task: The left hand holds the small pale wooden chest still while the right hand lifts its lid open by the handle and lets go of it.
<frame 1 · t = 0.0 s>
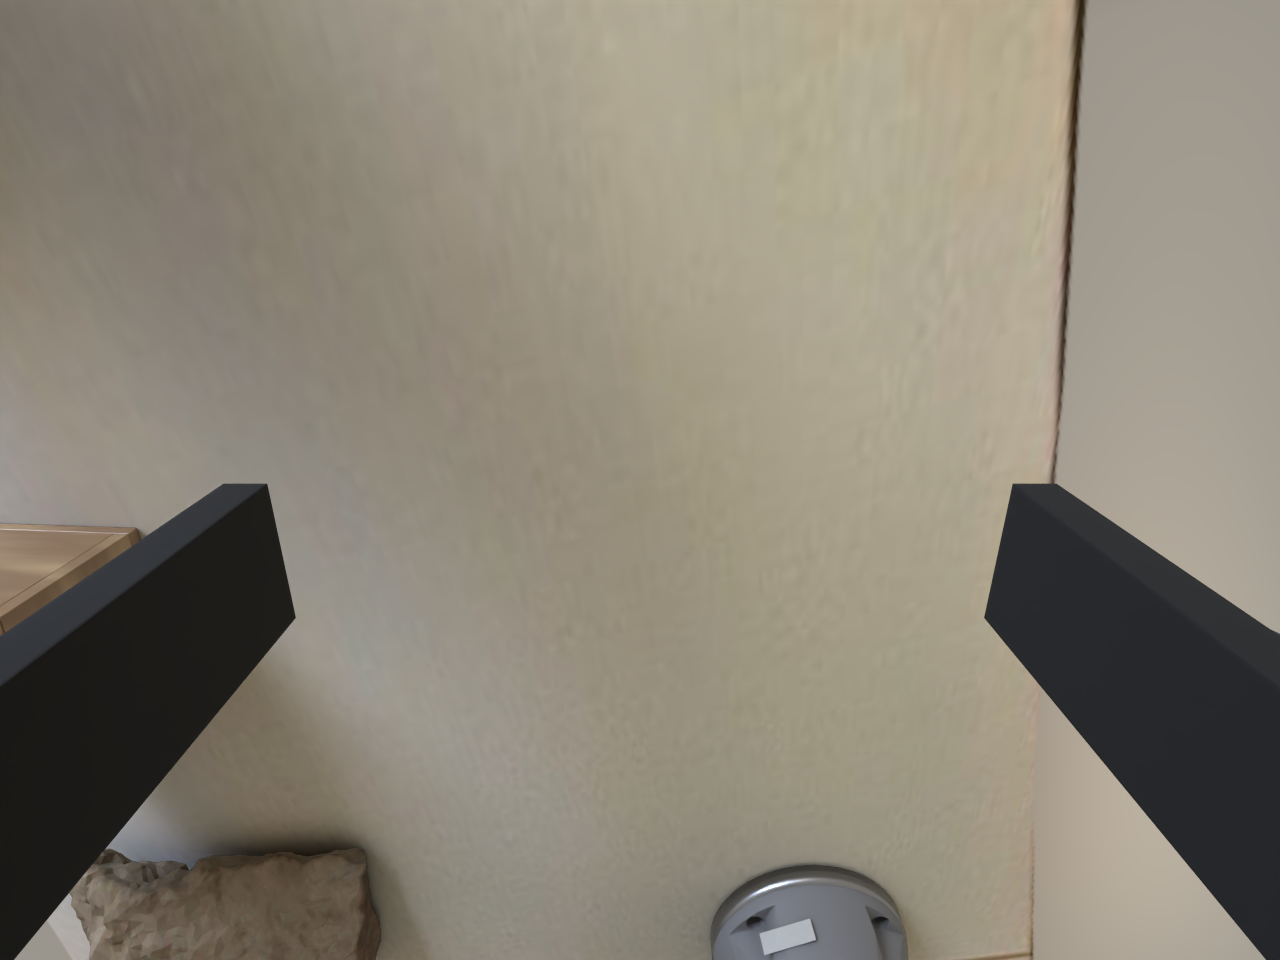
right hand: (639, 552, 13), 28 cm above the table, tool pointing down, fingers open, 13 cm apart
stone: (252, 895, 55), on the table
chest: (83, 613, 46), on the table
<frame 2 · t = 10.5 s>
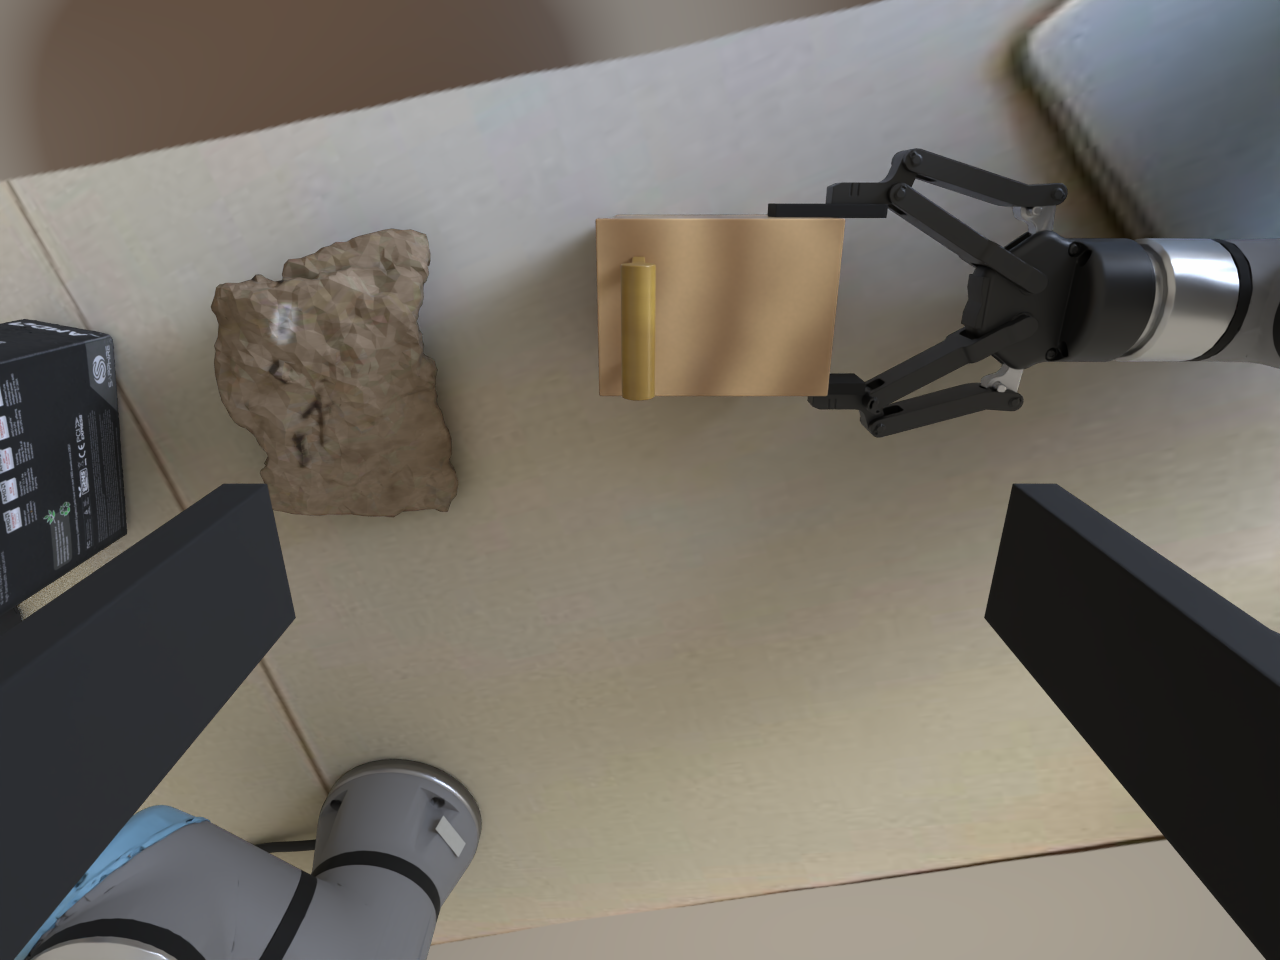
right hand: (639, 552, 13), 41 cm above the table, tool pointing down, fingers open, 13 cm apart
left hand: (765, 301, 44), fingers closed on chest, 10 cm apart
lid: (722, 320, 37), point 14 cm above the table, hinge at 0.0°
stone: (362, 379, 53), on the table
graphics card box: (87, 428, 54), on the table
chest: (706, 288, 50), on the table, touching left hand
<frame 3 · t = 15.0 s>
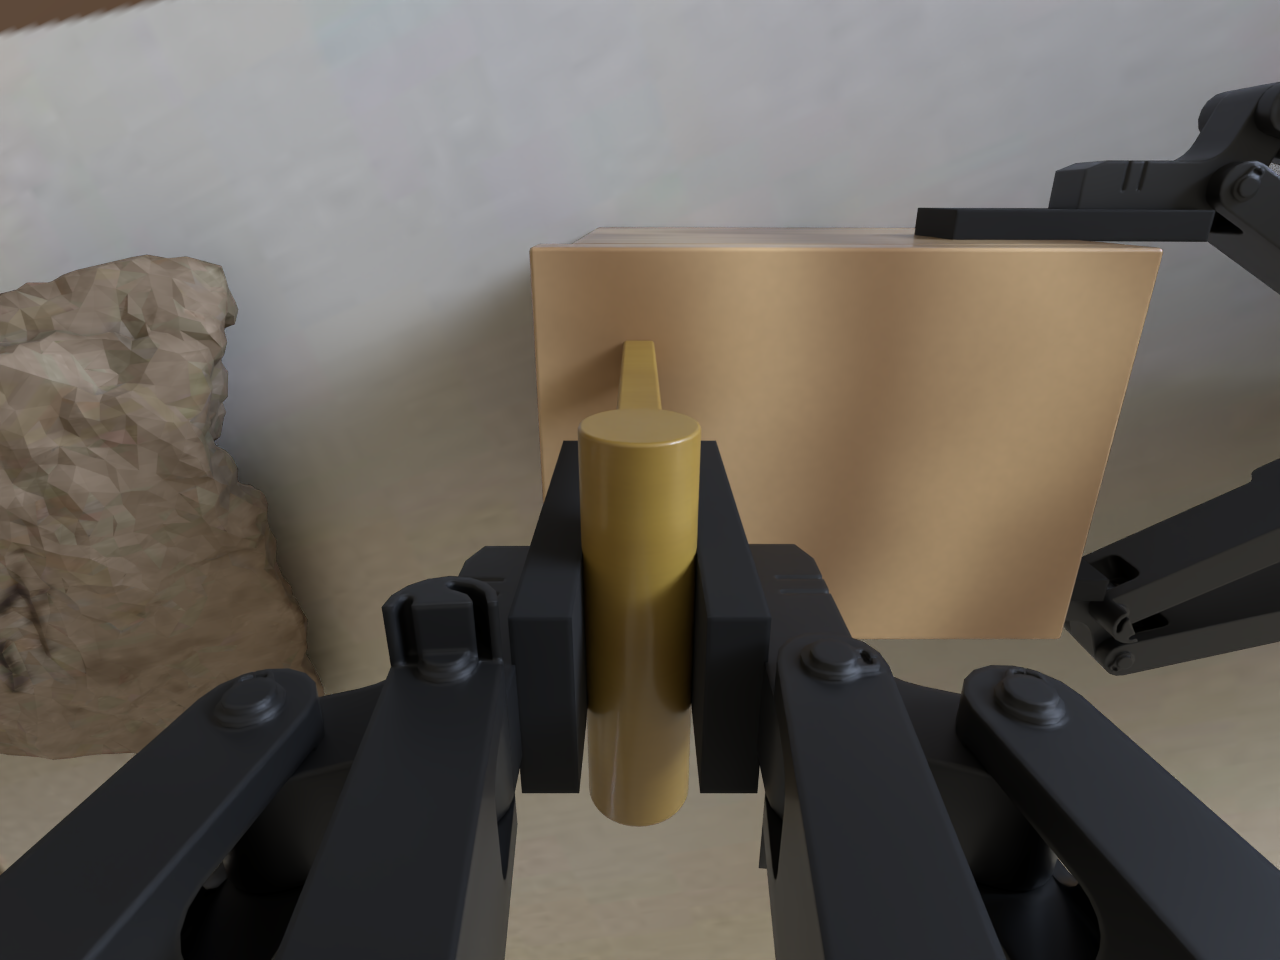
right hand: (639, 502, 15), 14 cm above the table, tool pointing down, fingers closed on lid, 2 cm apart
lid: (864, 522, 14), point 15 cm above the table, hinge at 0.5°, touching right hand
stone: (150, 515, 30), on the table
chest: (764, 362, 27), on the table, touching left hand
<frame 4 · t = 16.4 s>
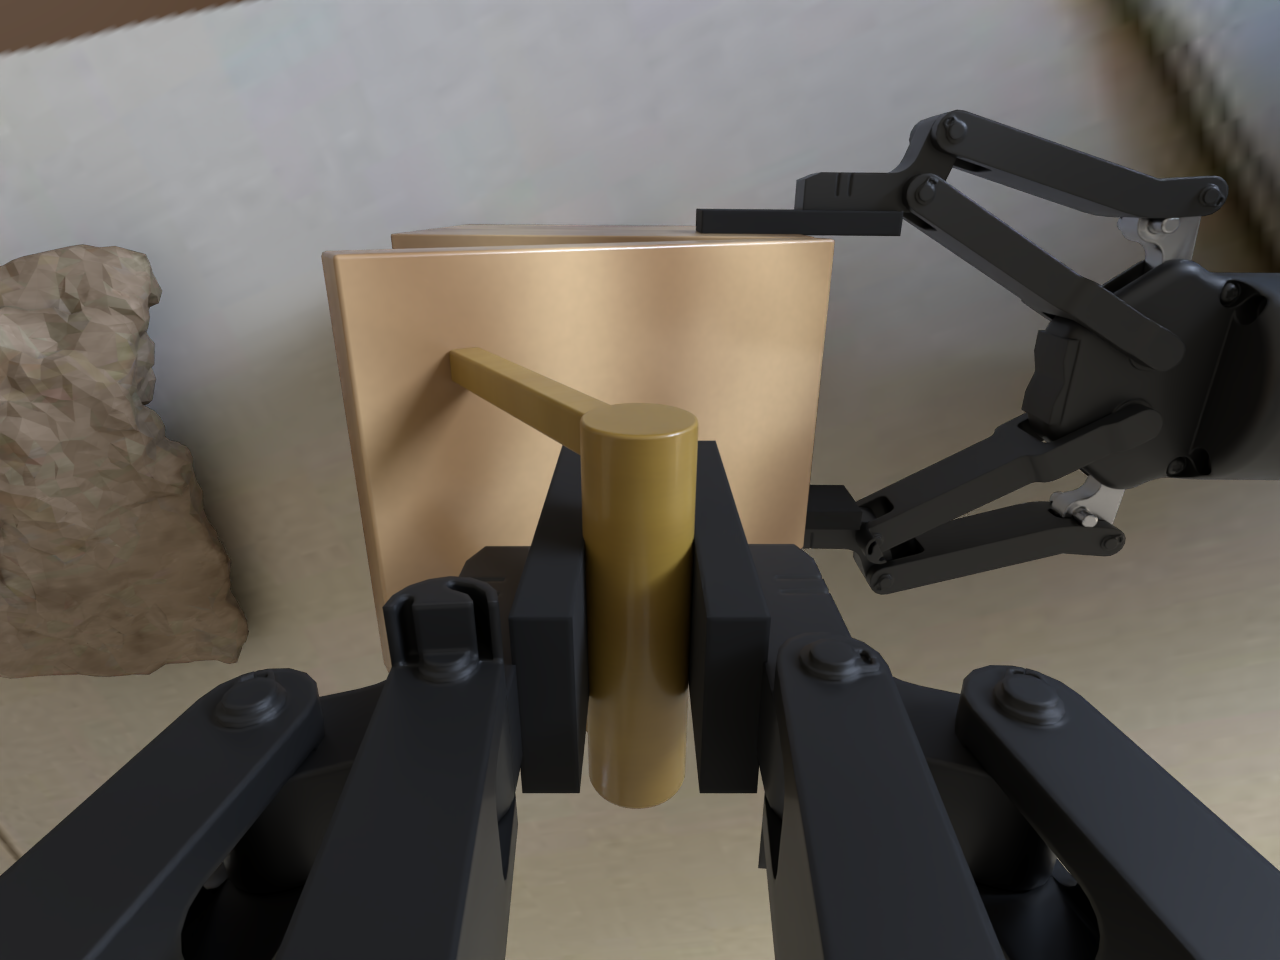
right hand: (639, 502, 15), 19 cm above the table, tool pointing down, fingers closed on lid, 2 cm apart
left hand: (693, 374, 26), fingers closed on chest, 10 cm apart
lid: (714, 482, 16), point 18 cm above the table, hinge at 33.8°, touching right hand
stone: (96, 470, 35), on the table
chest: (615, 339, 32), on the table, touching left hand
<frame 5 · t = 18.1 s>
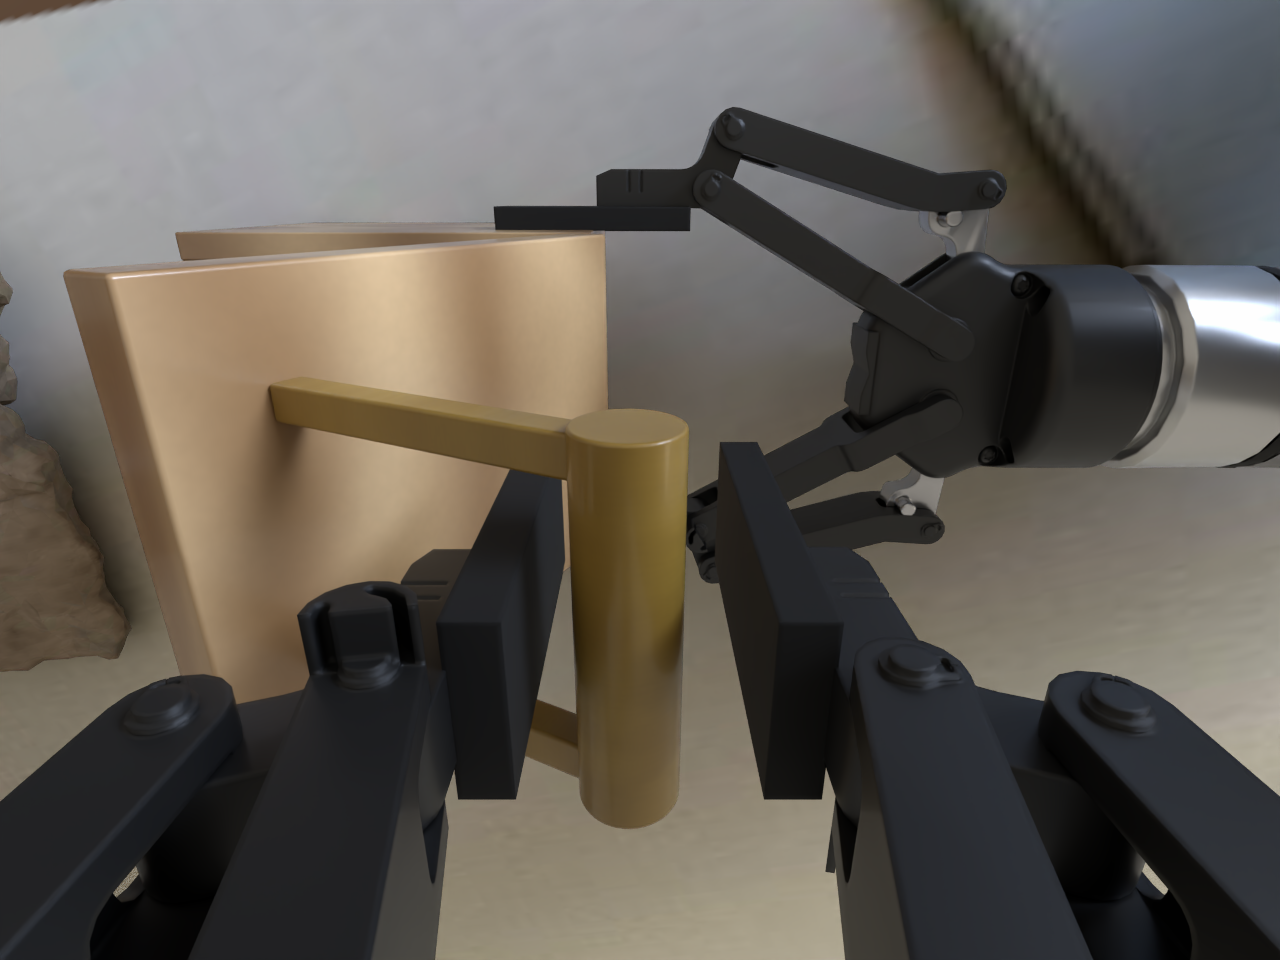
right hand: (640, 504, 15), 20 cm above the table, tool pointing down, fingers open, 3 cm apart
left hand: (512, 368, 26), fingers closed on chest, 10 cm apart
lid: (581, 484, 16), point 18 cm above the table, hinge at 62.4°
chest: (469, 335, 33), on the table, touching left hand
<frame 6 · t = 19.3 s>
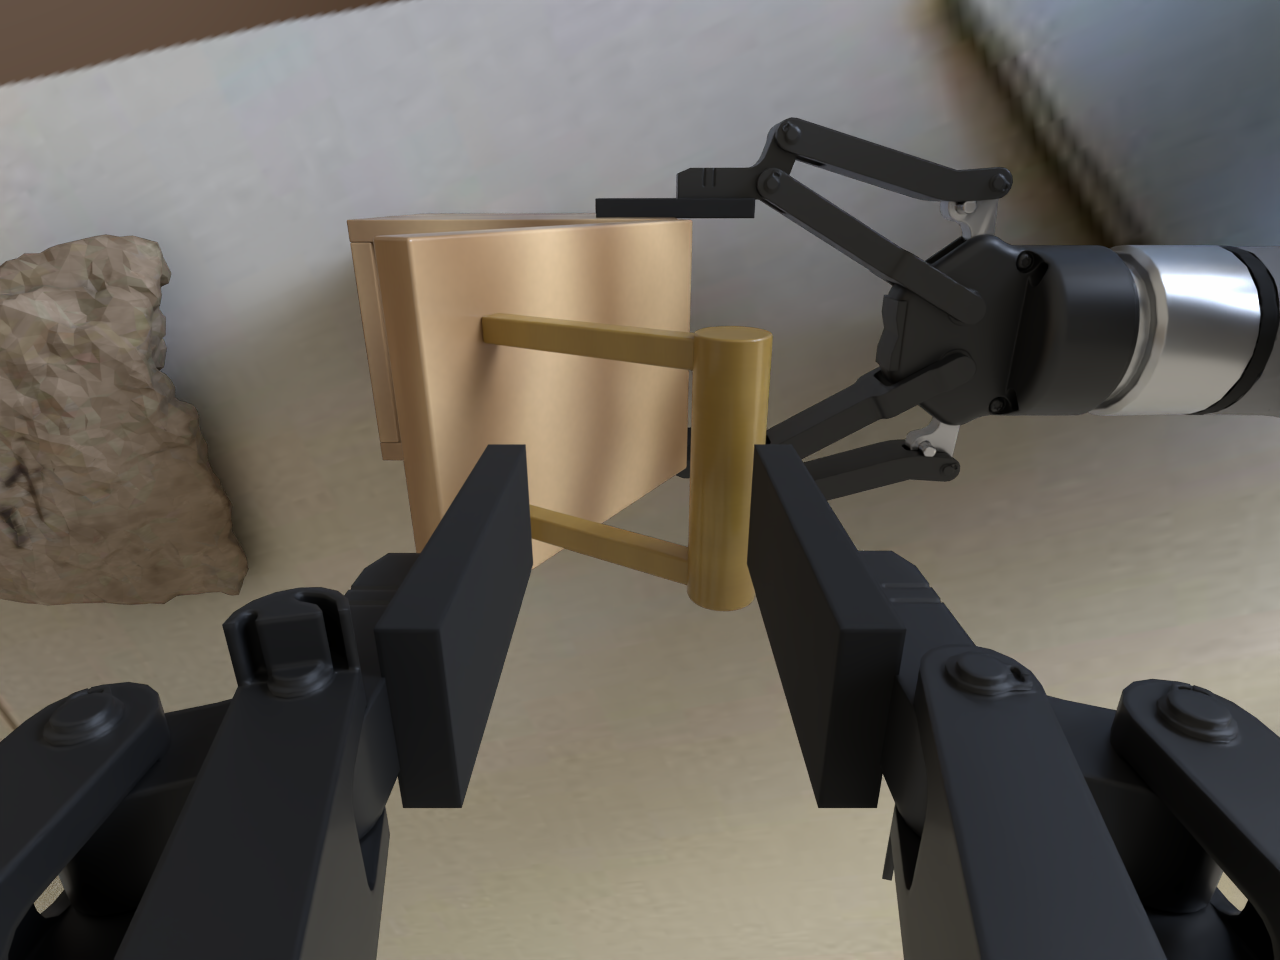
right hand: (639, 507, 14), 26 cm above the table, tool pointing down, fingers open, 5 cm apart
left hand: (600, 333, 32), fingers closed on chest, 10 cm apart
lid: (679, 403, 21), point 18 cm above the table, hinge at 58.9°
stone: (116, 428, 41), on the table
chest: (550, 310, 38), on the table, touching left hand
when the left hand's fingers open (7 cm above the table, at t = 21.7 s): chest stays where it is, on the table.
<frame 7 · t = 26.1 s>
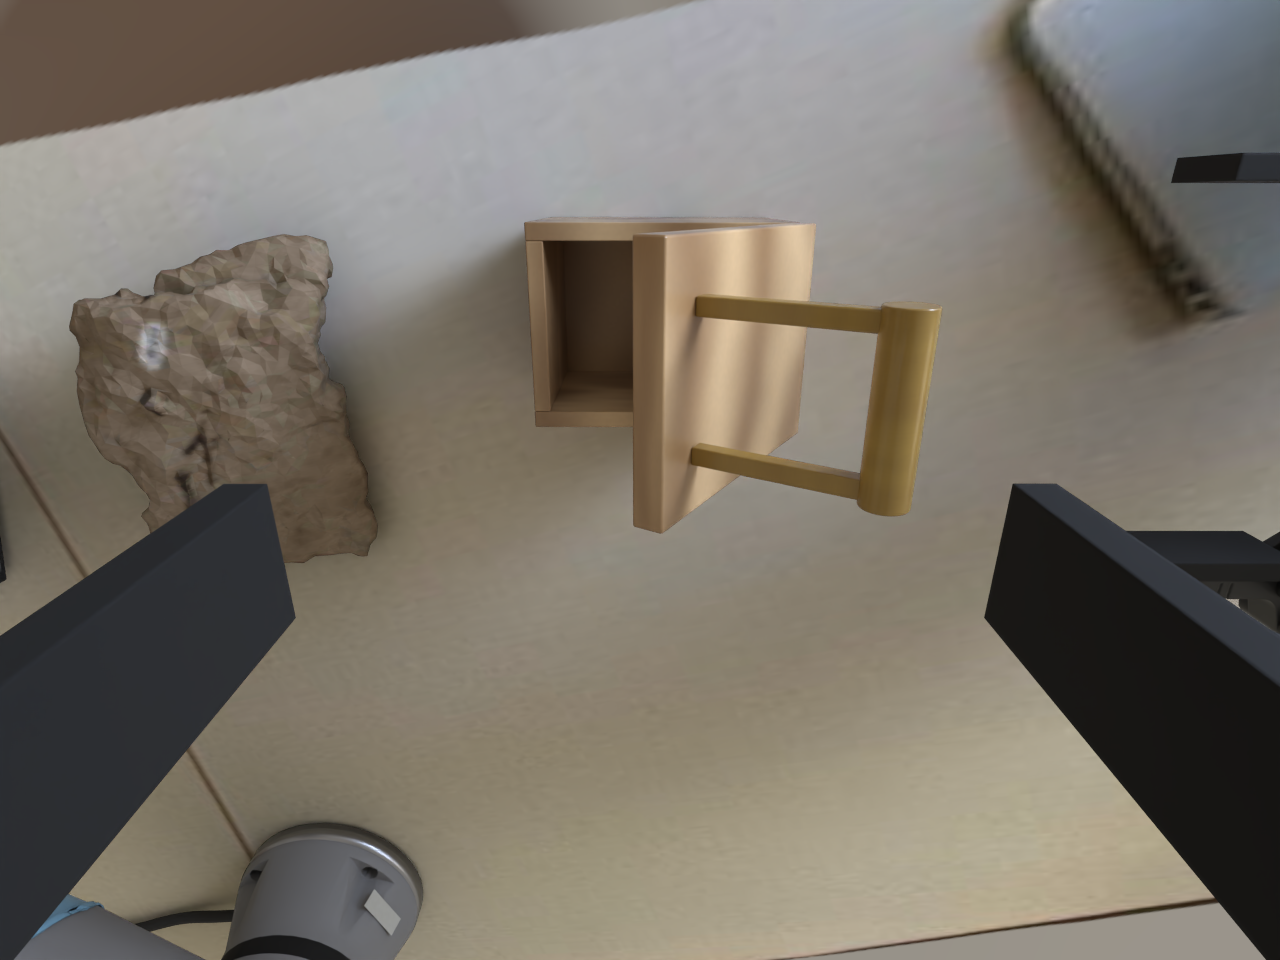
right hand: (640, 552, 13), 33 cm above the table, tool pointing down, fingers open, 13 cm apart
lid: (827, 369, 27), point 18 cm above the table, hinge at 58.1°
stone: (265, 406, 46), on the table
chest: (656, 302, 44), on the table
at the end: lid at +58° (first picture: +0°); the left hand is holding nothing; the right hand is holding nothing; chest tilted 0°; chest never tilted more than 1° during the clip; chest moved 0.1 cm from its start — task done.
